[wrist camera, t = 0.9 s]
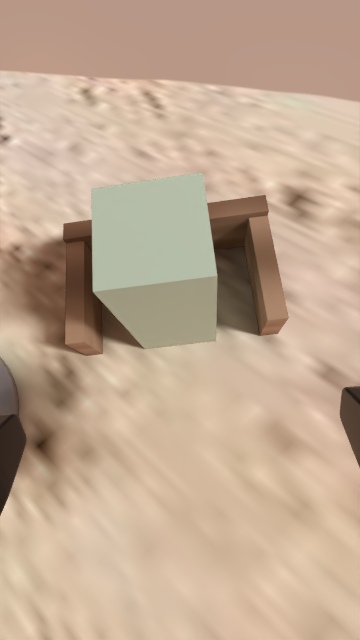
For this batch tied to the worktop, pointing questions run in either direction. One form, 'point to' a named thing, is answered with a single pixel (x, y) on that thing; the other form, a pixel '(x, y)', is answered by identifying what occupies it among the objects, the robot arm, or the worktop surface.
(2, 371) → the charcoal pad
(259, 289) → the walnut bay
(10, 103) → the worktop surface
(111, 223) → the block
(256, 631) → the worktop surface
